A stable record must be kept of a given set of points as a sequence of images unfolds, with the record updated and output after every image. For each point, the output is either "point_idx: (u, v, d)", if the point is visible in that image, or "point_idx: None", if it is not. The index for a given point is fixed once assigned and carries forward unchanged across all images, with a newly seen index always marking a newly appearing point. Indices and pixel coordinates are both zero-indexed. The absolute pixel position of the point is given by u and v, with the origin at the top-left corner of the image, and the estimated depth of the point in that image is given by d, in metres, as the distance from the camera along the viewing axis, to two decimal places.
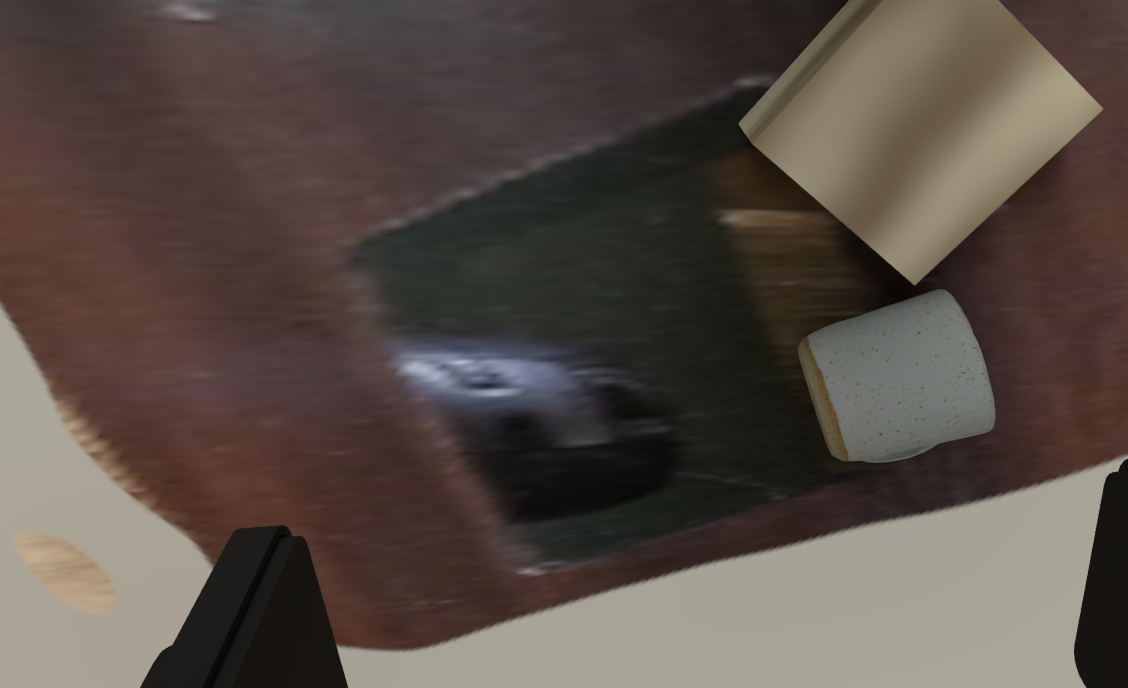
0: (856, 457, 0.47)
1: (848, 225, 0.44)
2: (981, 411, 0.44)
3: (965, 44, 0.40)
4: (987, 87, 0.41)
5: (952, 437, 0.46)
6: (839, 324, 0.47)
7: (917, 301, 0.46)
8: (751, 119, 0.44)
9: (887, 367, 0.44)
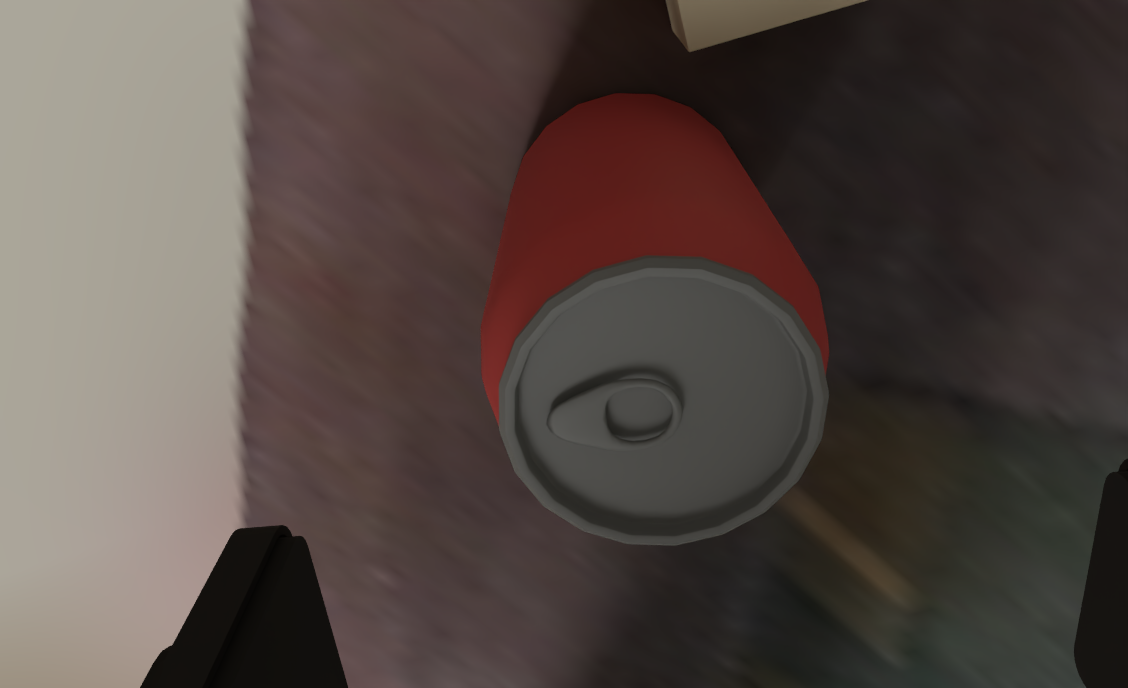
0: None
1: None
2: None
3: None
4: None
5: None
6: None
7: None
8: None
9: None
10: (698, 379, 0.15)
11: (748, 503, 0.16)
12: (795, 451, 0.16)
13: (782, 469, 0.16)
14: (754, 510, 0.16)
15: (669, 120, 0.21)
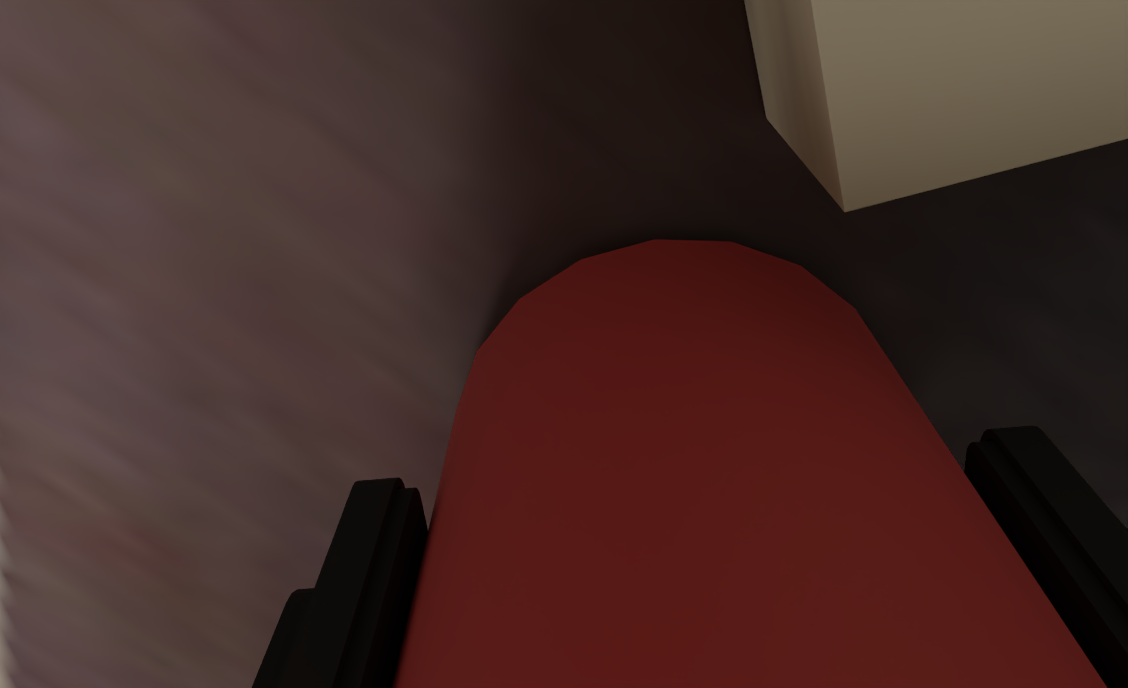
0: None
1: None
2: None
3: None
4: None
5: None
6: None
7: None
8: None
9: None
10: None
11: None
12: None
13: None
14: None
15: (785, 346, 0.10)
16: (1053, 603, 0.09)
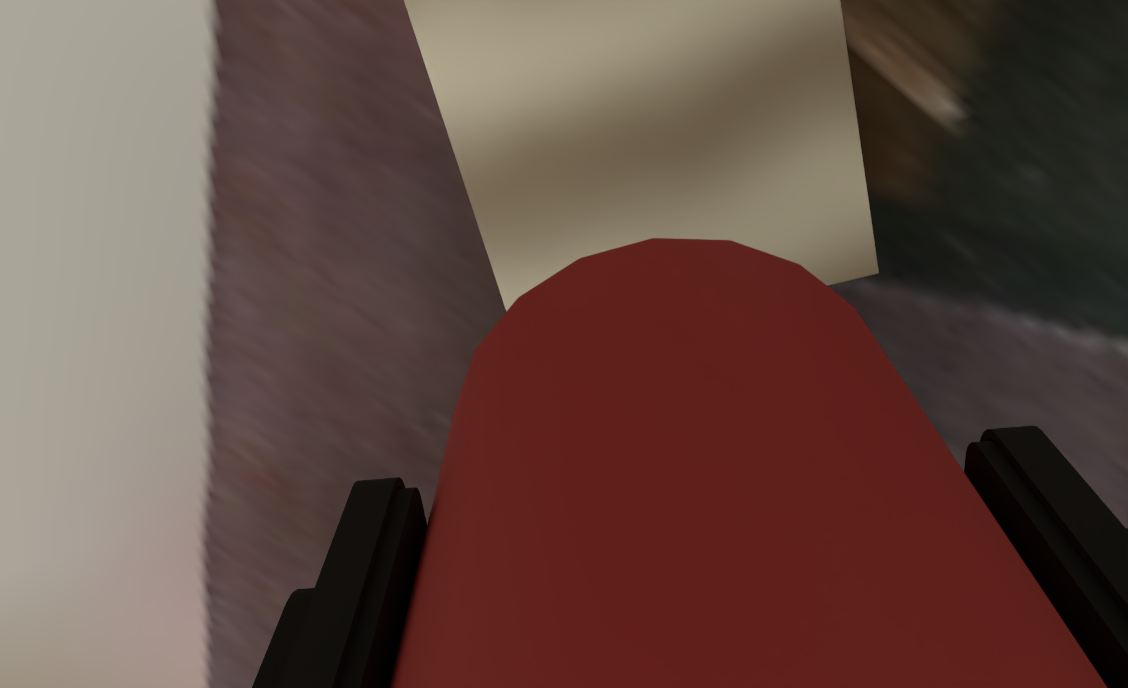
0: None
1: (845, 63, 0.25)
2: None
3: (549, 221, 0.27)
4: (548, 143, 0.26)
5: None
6: None
7: None
8: None
9: None
10: None
11: None
12: None
13: None
14: None
15: (784, 345, 0.10)
16: (1053, 603, 0.09)
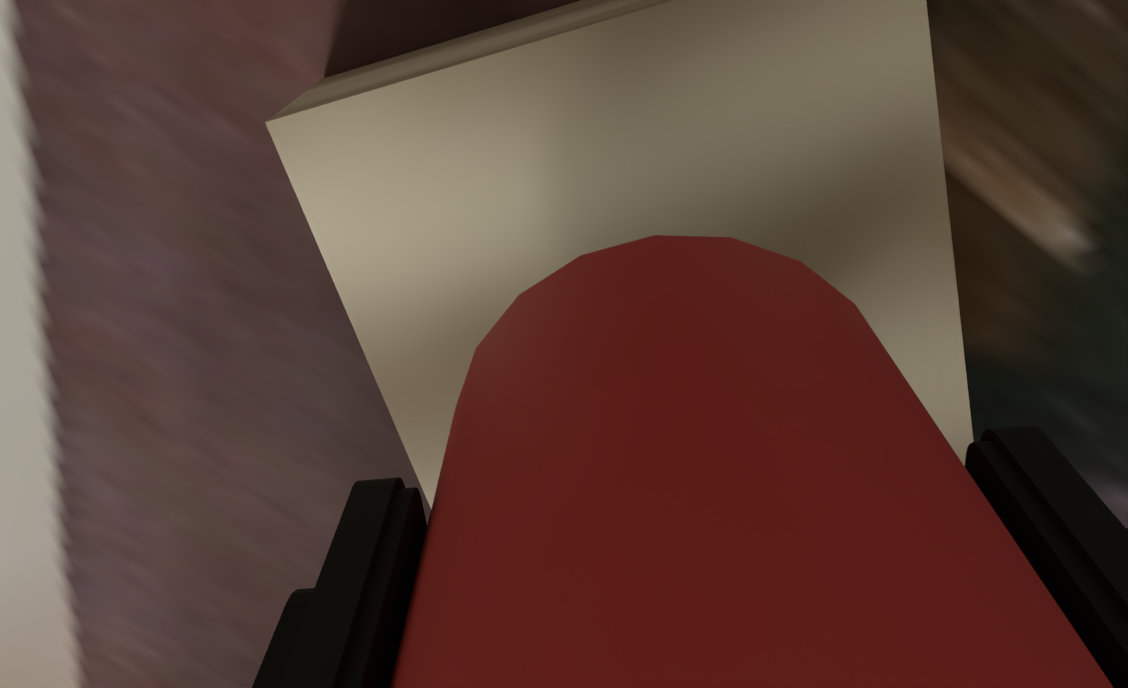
0: None
1: (944, 212, 0.16)
2: None
3: None
4: None
5: None
6: None
7: None
8: None
9: None
10: None
11: None
12: None
13: None
14: None
15: (786, 341, 0.10)
16: None
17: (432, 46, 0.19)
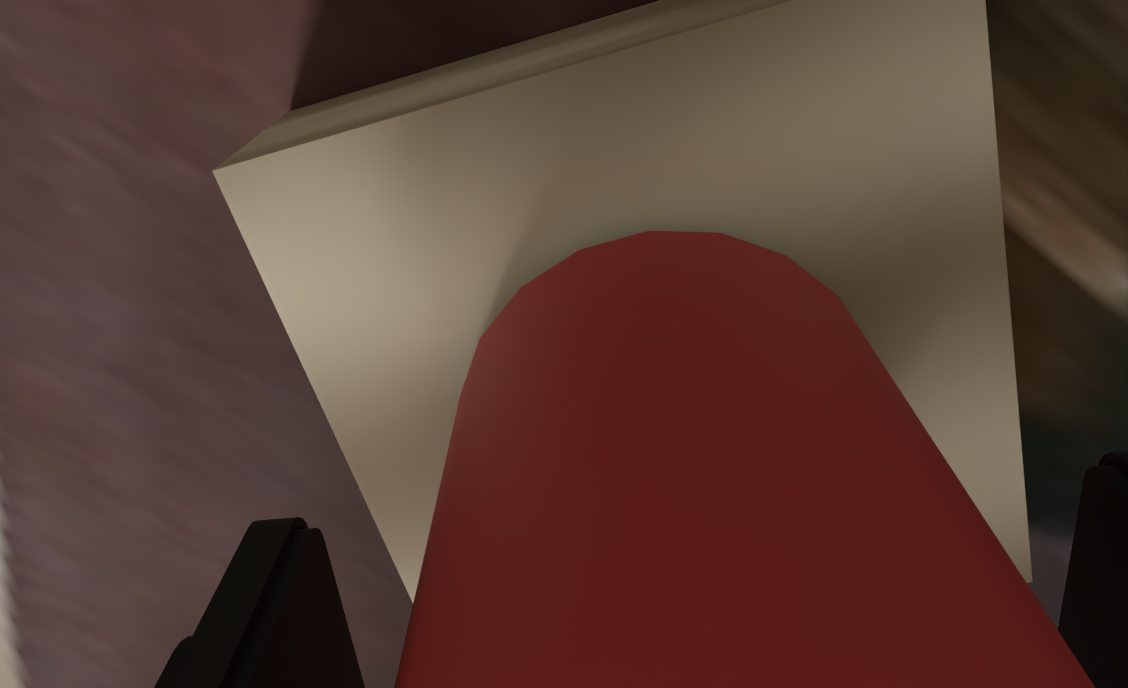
0: None
1: (1001, 273, 0.14)
2: None
3: None
4: None
5: None
6: None
7: None
8: None
9: None
10: None
11: None
12: None
13: None
14: None
15: (769, 327, 0.10)
16: None
17: (412, 76, 0.17)
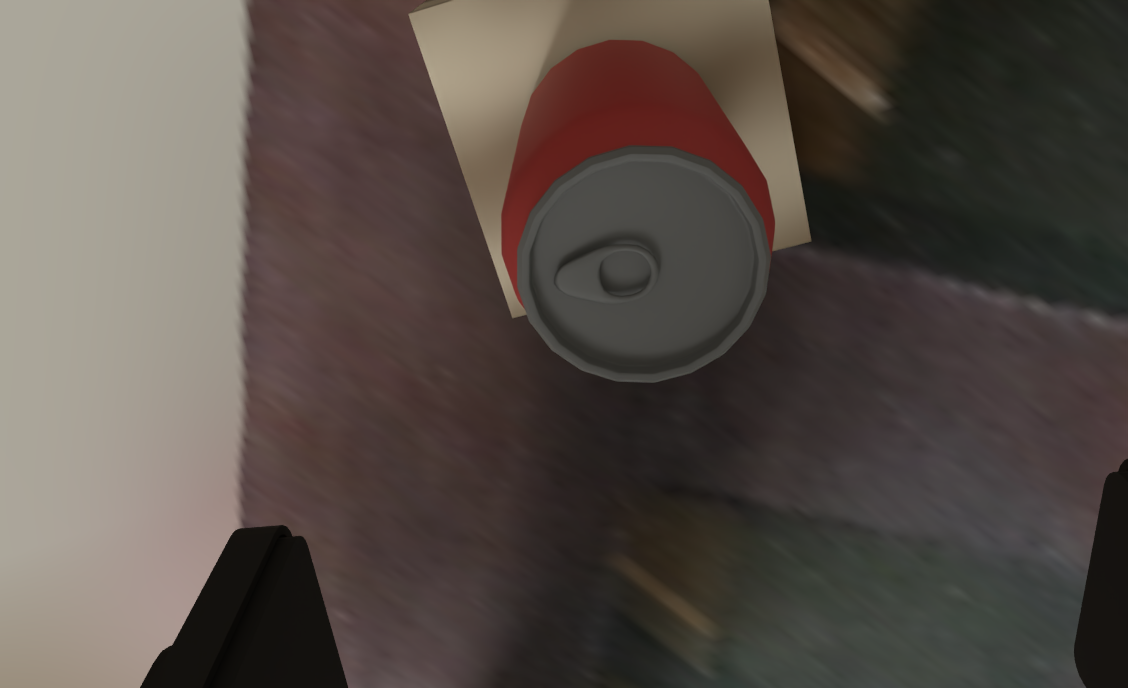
0: None
1: (777, 65, 0.30)
2: None
3: None
4: None
5: None
6: None
7: None
8: None
9: None
10: (671, 245, 0.20)
11: (710, 347, 0.21)
12: (746, 303, 0.21)
13: (736, 318, 0.21)
14: (715, 351, 0.21)
15: (653, 58, 0.26)
16: None
17: None
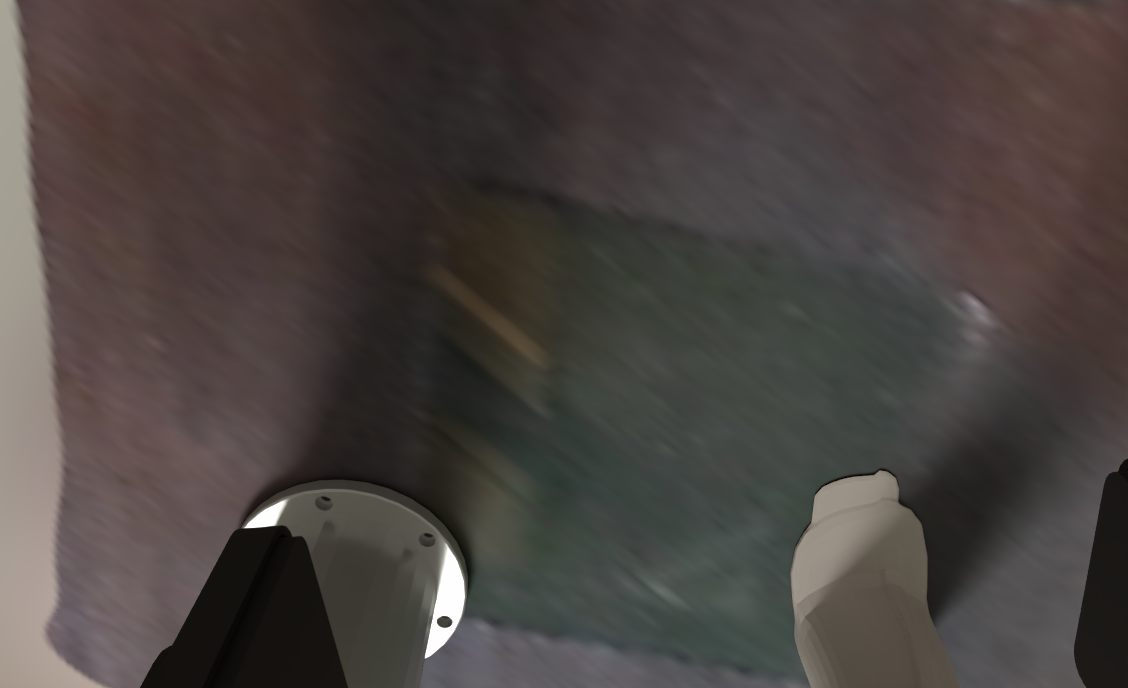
0: None
1: None
2: None
3: None
4: None
5: None
6: None
7: None
8: None
9: None
10: None
11: None
12: None
13: None
14: None
15: None
16: None
17: None
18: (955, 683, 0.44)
